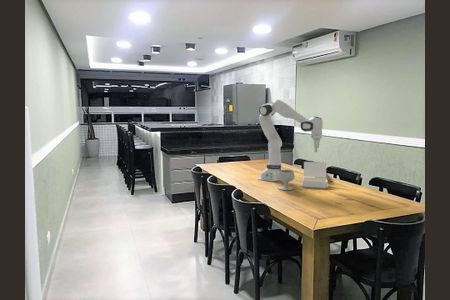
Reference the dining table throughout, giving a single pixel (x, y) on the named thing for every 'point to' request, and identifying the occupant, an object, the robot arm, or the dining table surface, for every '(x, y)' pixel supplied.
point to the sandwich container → (326, 177)
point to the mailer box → (315, 182)
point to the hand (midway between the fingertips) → (315, 152)
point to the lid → (314, 169)
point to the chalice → (285, 178)
